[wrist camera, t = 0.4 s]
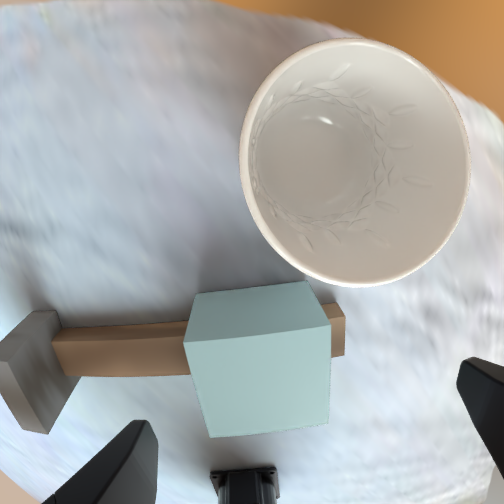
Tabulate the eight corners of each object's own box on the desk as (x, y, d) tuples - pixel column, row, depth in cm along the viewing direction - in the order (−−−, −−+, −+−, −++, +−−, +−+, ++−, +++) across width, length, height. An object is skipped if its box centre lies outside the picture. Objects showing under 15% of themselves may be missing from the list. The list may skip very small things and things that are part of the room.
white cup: (216, 192, 19) (195, 231, 9) (270, 72, 17) (303, -4, 7) (335, 242, 20) (410, 317, 10) (385, 130, 18) (494, 122, 8)
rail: (335, 356, 22) (365, 422, 16) (58, 374, 22) (22, 429, 15) (336, 281, 21) (377, 337, 14) (32, 311, 20) (-18, 359, 14)
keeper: (310, 368, 22) (328, 423, 17) (214, 380, 22) (209, 437, 17) (307, 280, 20) (331, 324, 15) (195, 293, 20) (183, 342, 15)
